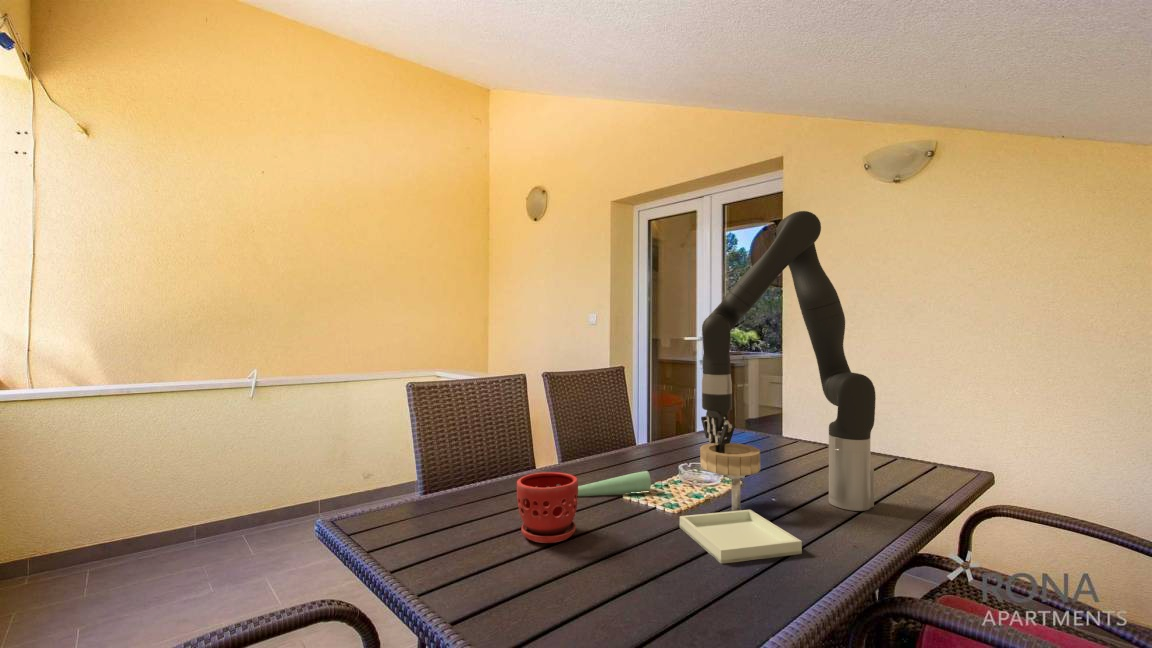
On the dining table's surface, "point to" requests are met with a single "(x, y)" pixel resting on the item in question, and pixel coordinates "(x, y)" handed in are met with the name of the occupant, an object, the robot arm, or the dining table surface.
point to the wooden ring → (730, 459)
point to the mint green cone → (618, 485)
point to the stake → (735, 491)
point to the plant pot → (547, 506)
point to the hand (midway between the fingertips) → (717, 457)
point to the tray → (739, 536)
